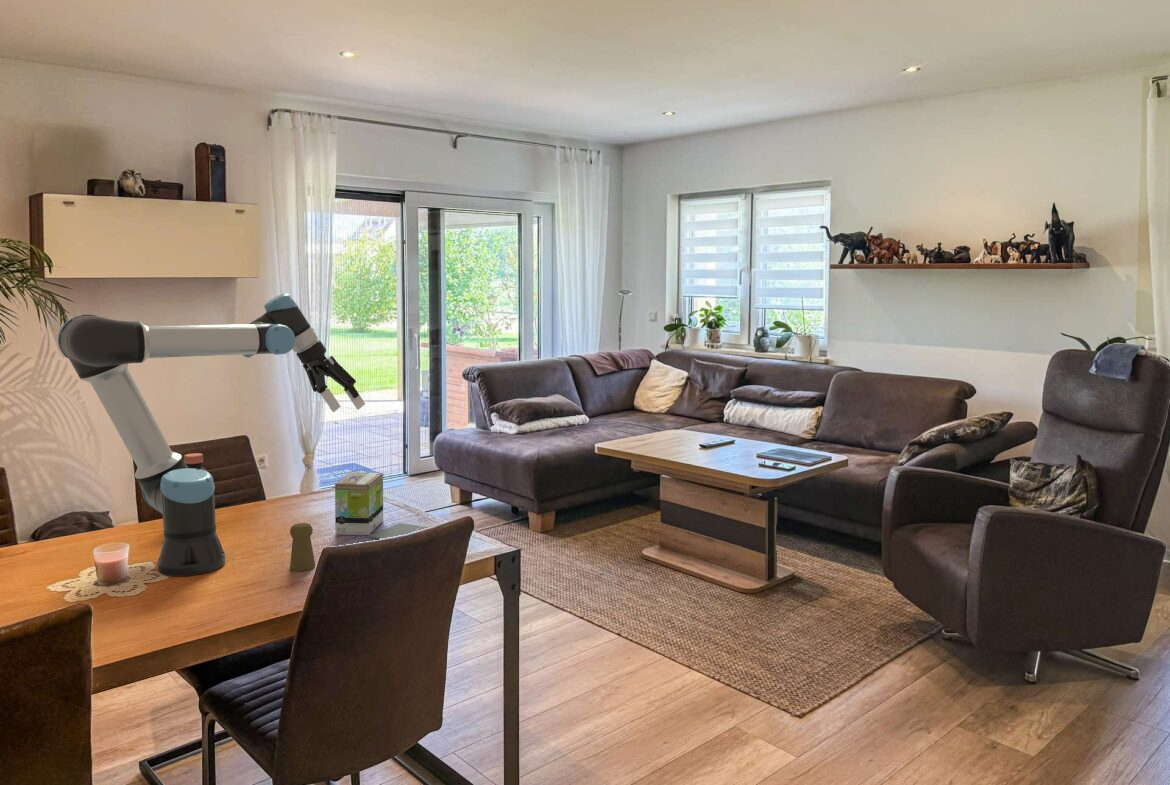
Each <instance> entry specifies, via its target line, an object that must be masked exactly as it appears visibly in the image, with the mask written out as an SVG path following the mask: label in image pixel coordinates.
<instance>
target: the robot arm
mask: <svg viewBox="0 0 1170 785" xmlns="http://www.w3.org/2000/svg"><path fill="white" fill-rule="evenodd" d="M263 307H264V310H265V313H263V314H262V315H261V316H259V317H258V318H256V319H254V320H253V321H250V322H249V323H248V324H193V325H192V324H190V325H189V324H186V325H184V324H183V325H179V324H178V325H146V324H144V323H143V322H142V321H125V320H118V319H117V320H116V319H113V318H107V317H103V316H99V315H94V314H80V315H78V316H74V317H72V318H70V319H68V320H67V321H65V322H64V323H63V325H62V326H61V328H60V329H59V332H58V335H57V343H58V348H59V349H60V352H61V353H62V354H63V356H64V357H66V358H67V359H68V360H69V362H70V364H71V365H72V367H73V369H74V370H75V373H76V374H77V376H78V378H79V379H80V380H81V381H85V382H87V383H89V384H91V387H92V388H93V390H94V391H95V393H96V395H97V398H98V399H99V400H100V403H101V404H102V406H103V408H104V410H105V412H106V413H107V416H109V419H110V421H111V422H112V424H113V425H114V428H115V429H116V431H117V433H118V435H119V437H120V438H121V441H122V442H123V444H124V446H125V447H126V449H127V450H128V453H129V454H130V456H131V458H132V459H133V461H134V463H135V465H136V467H137V468H136V471H135V474H134V477H135V479H136V481H137V483H138V484H139V486H140V489H141V494H142V497H143V500H144V501H145V502H146V504H147V505H148V506H149V507H150V508H152V509H154V510H156V511H157V512H158V513H160V514H162V525H163V527H162V528H163V542H162V545H161V550H160V553H159V554H160V555H159V557H158V559H157V572H158V573H159V574H161V575H164V576H169V577H190V576H191V577H192V576H197V575H203V574H206V573H210V572H214V571H217V570H218V569H220V568H222V567H223V566H225V564H226V553H225V551H224V549H223V546H222V544H221V541H220V538H219V536H218V533H217V526H216V524H217V523H216V521H217V520H216V508H215V507H216V504H215V502H216V501H215V483H214V478H213V475H212V474H211V473H210V472H208V470H207V471H205V470H201V469H199V470H197V469H194V468H188V467H187V465H186V463H185V461H184V457H183V455H182V454H181V453H178V452H175V451H172V449H171V448H170V445H169V443H168V442H167V440H166V438H165V436H164V434H163V432H162V430H161V429H160V426H159V424H158V423H157V421H156V418H155V417H154V416H153V414H152V411H151V410H150V408H149V406H148V404H147V402H146V401H145V398H144V397H143V395H142V393H141V391H140V390H139V387H138V385H137V384H136V382H135V380H134V378H133V376H132V375H131V374H132V373H131V372H130V371H129V368H128V366H129V364H143V363H144V362H146V360H148V359H159V358H161V359H162V358H181V357H182V358H183V357H184V358H185V357H186V358H187V357H208V356H209V357H211V356H213V357H214V356H215V357H216V356H235V355H237V356H238V355H242V356H243V357H245V358H248V359H249V358H251V357H253V356H256V355H267V354H270V355H271V354H273V355H277V356H279V355H285V354H286V355H287V354H288V353H289V352H291V351H293V352H294V353H296V356H297V358H298V359H299V360H300V363H301V364H302V367H303V369H304V370H305V372H306V374H307V375H306V376H307V378H308V380H309V382H310V386H311V388H312V391H313V392H314V393H318V394H319V395H320V396H321V397H322V398H323V400H324V401H325V402H326V404H327V406H328V407H329V409H330V410H331V412H332V413H334V412H337V410H338V409H339V408H341V405H340V403H339V402H338V400H337V399H336V397H335V396H334V394H333V392H332V391H331V390H330V388H329V387H328V385H326V384H327V383H326V377H329V378H330V379H332V380H333V381H334V382H336V383H337V384H339V385H340V386H341V387H343V391H344V392H345V393H346V395H347V397H348V398H349V399H350V401H351V402H352V404H353V405H354V407H355V409H356V411H357V410H360V409H361V408H363V407H364V406H365V405H366V402H365V401H364V400H363V398H362V396H361V395H360V393H359V392H358V390H357V389H356V387H355V384H356V383H357V380H356V379H355V378H354V376H353V377H352V375H351V374H350V373H349V372H348V371H347V370H346V369H345V368H344V366H341V364H339V362H337V360H336V359H335V357H334V356H333V355H331V356H329V357H326V356H325V353H326V352H327V348H326V347H325V345H324V344H323V343H322V341H321V340H319V337H318V335H317V334H316V332H315V329H314V328H313V327H312V326H311V324H309V321H308V320H307V319H306V317H305V315H304V313H303V312H302V310H301V309H300V307H299V305H298V304H297V303H296V301H295V300H294V299H293V298H292V296H291V295H290V294H289V293H281V294H279V295H277V296H274V297H273V298H271V299H270V300H269V301H268V302H266V303H265V304H264V306H263ZM325 376H326V377H325Z"/></svg>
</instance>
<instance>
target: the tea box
mask: <svg viewBox="0 0 1170 785" xmlns="http://www.w3.org/2000/svg"><path fill="white" fill-rule="evenodd" d="M334 487H335V488H334V497H335V498H334V502H335V504H334V507H335V508H334V509H335V510H334V511H335V514H334V517H335V521H334V522H335V523H334V524H335V525H334V526H335V527H334V529H335V532H334V534H335V535H340V536H370V535H371V533H372V532H373V531H374V530H375V529H376V528H377V527H378V526H379V525H380V524H382V522H383V521H384V474H383V473H382V472H349V473H348V474H346V476H343V478H341V479H340V480H339V481H337V482H336V483H334Z"/></svg>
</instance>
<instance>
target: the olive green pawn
mask: <svg viewBox="0 0 1170 785" xmlns="http://www.w3.org/2000/svg"><path fill="white" fill-rule="evenodd" d="M289 534H290V536H291V538H292V543H291V544H292V545H291V552H290V553H291V554H290V562H289V563H290V564H289V570H290V571H292V572H297V573H298V572H300V573H301V572H308V571H311V570H314V569H315V568H316V567H315V566H316V561H315V555H314V551H313V550H314V549H313V545H312V539H311V536H312V535H313V527H312V525H311V524H310V523H307V522H299V523H295V524H294V525H292V526H290V530H289Z"/></svg>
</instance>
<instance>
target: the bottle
mask: <svg viewBox="0 0 1170 785" xmlns="http://www.w3.org/2000/svg"><path fill="white" fill-rule="evenodd" d="M183 459H184V461H185V463H186V465H187V467H188V468H194V469H197V470H199V469H201V470H205V471H207V472H208V470H207V469H206V468H205V467H203V464H204V454H203V453H199V452H196V453H195V452H194V453H187V454H184V455H183Z"/></svg>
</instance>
